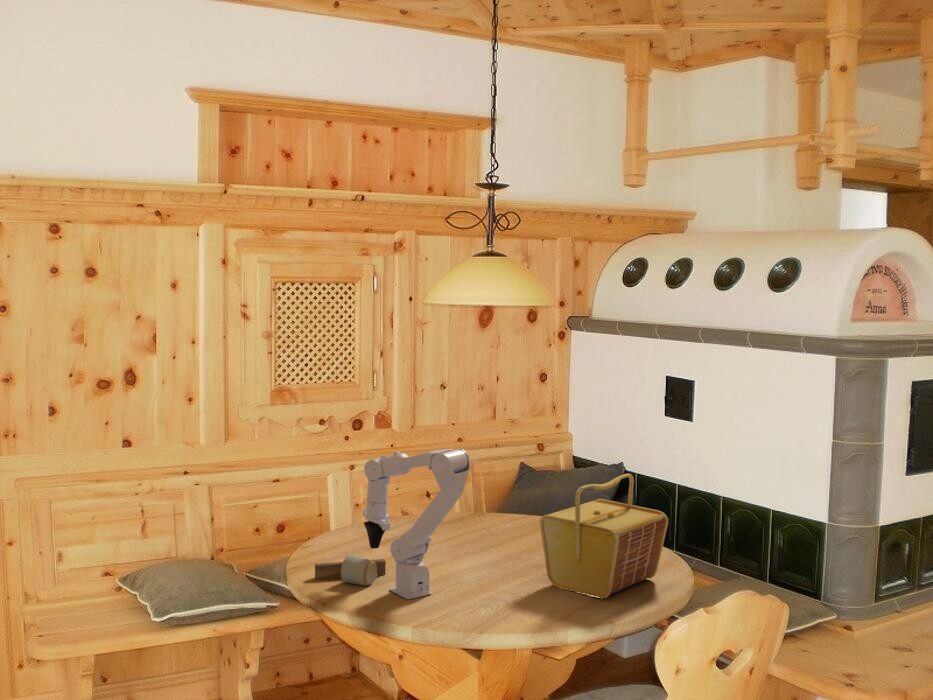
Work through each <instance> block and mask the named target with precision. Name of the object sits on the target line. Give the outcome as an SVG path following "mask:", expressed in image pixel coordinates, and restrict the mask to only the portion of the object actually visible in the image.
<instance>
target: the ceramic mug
mask: <svg viewBox="0 0 933 700" xmlns="http://www.w3.org/2000/svg"><path fill="white" fill-rule="evenodd" d="M372 560H373V559H369V558H366V557H362V556H361V557H360V556H357V555H354V554H348V555H346V556H345V558H343V560H342V562H343V563H342V566H341V578H340V579H341V580H342V581H343V582H344V583H349V584H351V585H352V584H353V585H354V584H355V585H359V586H363V587H364V586H366V587H367V586H370V585H372V584H373V583H374V582H375V580H376V579H377V577H378V575H377V566H376V563H375V562H374V561H372Z"/></svg>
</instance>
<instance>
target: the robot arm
mask: <svg viewBox="0 0 933 700" xmlns="http://www.w3.org/2000/svg"><path fill="white" fill-rule="evenodd" d="M425 466H427V468H428V470H429V471H432V474H433V476H434V479H435V481H436V483H437V486H438V487H439V488H440V489H439V491H438V492H437V493H436V495H435V496H434V497H433V499H432V500H431V502H430V503H429V504H428V506H427V507H426V508H425V510H424V511H423V512H422V513H421V515H419V517H418V518H417V520H416V521H415V523H414V524H413V525H412V527H410V528H409V529H408V530H406V531H405V532H404V533H402V534H401V535H400V537H399V538H395V539H394V540H393V541H392V542H391V544H390V553H391V556H392V558H393V559H394V562H395V564H396V565H395V586H393V587H389V591H390V590H391V591H390V592H392V593H395V594H396V593H397V594H396V595H398V596H400V597H401V598H404V599H406V600H412V599H417V598H421V597H425V596H429V595H432V591H430V571H429V569H428V567H427V566H425V563H424V561H423V560H424V559H425V554H427V552H428V550H429V545H430V543H431V541H432V540H433V539H432V537H431V535H432V534H433V533H434V532H435V530H436V529H437V528H438V527H439V525H440V523H442V521H443V519H445V517H446V516H447V515H448V513H449V512H450V511H451V510H452V508H453V507H454V505H455V504H456V503H457V502H458V500H459V499H460V498H461V497H462V495H463V494H464V490H465V485H466V480H467V475H468V473H469V472H470V470H471V469H472V465H471V459H470V455H469V454H468V452H467V451H466V450H465V449H463V448H459V447H458V448H455V449H453V448H445V449H437V450H432V451H427V452H423V453H419V454H415V455H411V456H410V455H409V456H408V454H406V453H404V452H403V453H402V452H401V451H396V452H393V454H391V455H388V456H387V454H383V455H381V456H380V457H378V458H374V459H373V458H371V459H369V460H368V461H366V462H365V464H364V466H363V467H364V469H363V471H364V475H365V476H366V478H367V490H366V491H367V493H366V506H365V507H366V508H362V516H363V517H364V519H365V520H367V521H364V522H363V525H364V527H365V530H366V533H367V538H368V543H369V547H370V549H372V550H373V549H379V547H380V545H381V541H382V538H383V536H384V534H385V532H386V531H390V529H391V523H390V521H389V519H390V518H391V514H389V513H387V512H388V496H389V483H390V481H391V478H392V477H397V476H402V475H406V474H409V473H410V471H411V469H412V468H419V467H425Z"/></svg>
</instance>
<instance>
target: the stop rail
mask: <svg viewBox="0 0 933 700" xmlns="http://www.w3.org/2000/svg"><path fill="white" fill-rule="evenodd" d="M371 560H372V561H374V562H375V563H376V566H377V576H383V575H386V567H387V565H386V559H385V558H382V559H381V558H380V559H371ZM342 563H343V561H337V562H336V561H335V562H325V563H323V562H321V563H314V579H315V580H316V581H318V580H317V579H320V580H330V579H329V578H333V579H342V578H341V566H342Z"/></svg>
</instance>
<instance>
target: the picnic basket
mask: <svg viewBox="0 0 933 700" xmlns="http://www.w3.org/2000/svg"><path fill="white" fill-rule="evenodd" d="M626 478H628V479H629V480H628V481H629V485H628V496H627V503H623V502H619V501H613V500H608V499H605V498H604V499H603V498H598V499H595V500H591V501H588V502H585V503H584V502H583V503H581V494H582V492H583V491H585V490H587V489H593V490H595V491H603V490H608V489H610V488H613V487H615V486H616V485H617V484H619V483H620V482H621V481H622V479H626ZM634 485H635V480H634V476H633V475H632V474H631V473H624V474H621V475H618V476H616V477H615V478H612V479H611V480H610V481H608V482H605V483H602V484H601V483H600V484H599V483H598V484H597V483H590V484H585V485H582V486H580V487H579V488H578V489H577V490H576V491H575V497H574V505H575V506H571V507H568V508H565V509H561V510H558V511H555V512H552V513H549V514H545V515H543V516H542V517H541V518H540V519H539V528H540V534H541V541H542V548H543V554H544V560H545V568H546V569H545V570H546V574H547V578H548V581H550V583H551V585H553V586H554V587H556V588H558V589H560V588H563V589H562V590H564V589H566V590H565V591H567V590H570V591H569V592H571V591H575V592H580V593H585V594H589V595H594V596H598V597H600V598H605V599H607V598H608V597H609V596H611V595H612V594H614V593H617V592H619V591H621V590H624V589H626V588H628V587H630V586H633V585H634V584H637V583H639V582H643V581H644V580H647V579H646V578H649V579H652V578H653V577H655V576H656V574H657V572H658V569H659V564H660V559H661V555H662V551H663V548H664V543H665V538H666V533H667V530H668V526H669V518H668V516H667V515H666V513H665V512H663V511H661V510H658V509H653V508H648V507H642V506H640V505H639V506H638V505H634V504H633V498H634V497H633V496H634ZM575 592H574V593H575Z"/></svg>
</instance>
